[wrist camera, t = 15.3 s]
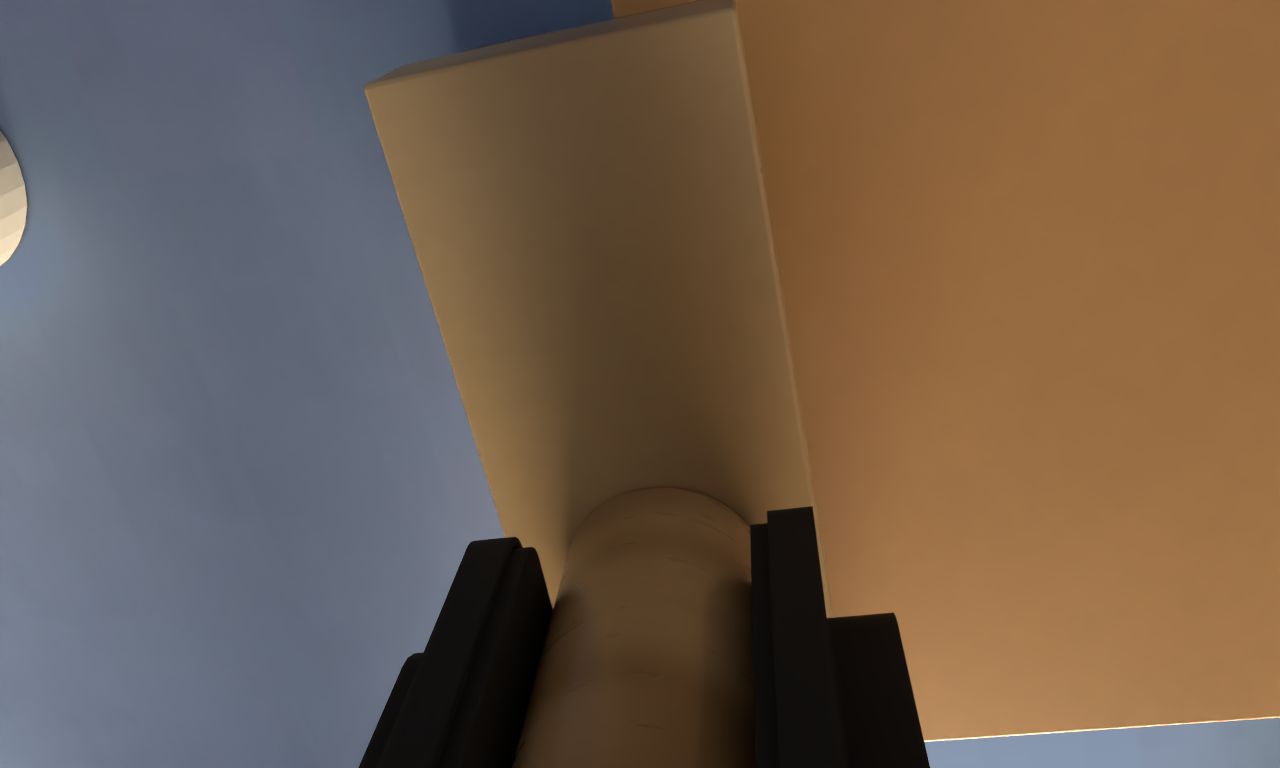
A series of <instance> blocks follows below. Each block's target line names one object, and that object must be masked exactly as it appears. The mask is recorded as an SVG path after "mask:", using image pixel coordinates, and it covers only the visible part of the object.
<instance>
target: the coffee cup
mask: <svg viewBox="0 0 1280 768" xmlns="http://www.w3.org/2000/svg"><path fill="white" fill-rule="evenodd" d="M26 212H27V199H26V191H25V183H24V180H23V177H22V173H21V170H20V167H19V164H18V161H17V159H16V157H15V155H14V153H13V151H12V149H11V147H10V145H9V143H8V141H7V139H6V138H5V136H4V135H3V133H2V132H1V130H0V266H1V265H2V264H3V263H4V262H5V261H7V260H8V259H9V258H10V256H11V255H12V253H13V252H14V250H15V249H16V247H17V246H18V244H19V242H20V239H21V236H22V233H23V230H24V227H25V222H26Z"/></svg>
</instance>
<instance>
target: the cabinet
mask: <svg viewBox="0 0 1280 768" xmlns="http://www.w3.org/2000/svg"><path fill="white" fill-rule="evenodd" d="M693 1H697V0H611V4H612V9H613V14H614V18H619V17H623V16H628V15H633V14H637V13H642V12H646V11H651V10H656V9H660V8H665V7H670V6H674V5H679V4H684V3H688V2H693ZM737 6H738V13H739V19H740V25H741V32H742V38H743V44H744V51H745V57H746V63H747V70H748V76H749V82H750V89H751V95H752V101H753V108H754V114H755V120H756V127H757V133H758V139H759V146H760V152H761V158H762V165H763V171H764V177H765V184H766V190H767V196H768V203H769V209H770V215H771V222H772V228H773V234H774V240H775V247H776V253H777V259H778V266H779V272H780V278H781V285H782V291H783V297H784V304H785V310H786V316H787V323H788V329H789V335H790V342H791V348H792V354H793V361H794V367H795V373H796V380H797V386H798V392H799V399H800V405H801V411H802V418H803V424H804V430H805V437H806V443H807V449H808V456H809V462H810V468H811V475H812V481H813V487H814V494H815V500H816V506H817V513H818V519H819V525H820V532H821V538H822V544H823V550H824V557H825V563H826V569H827V576H828V582H829V588H830V595H831V601H832V607H833V614H834V618H835V617H847V616H859V615H871V614H882V613H895V616H896V619H897V623H898V627H899V631H900V636H901V640H902V645H903V649H904V654H905V658H906V663H907V667H908V672H909V676H910V681H911V685H912V690H913V694H914V699H915V703H916V708H917V712H918V717H919V721H920V726H921V730H922V735H923V739H924V742H928V741H943V740H957V739H972V738H987V737H1001V736H1016V735H1030V734H1045V733H1060V732H1074V731H1089V730H1104V729H1118V728H1133V727H1147V726H1162V725H1177V724H1191V723H1206V722H1221V721H1235V720H1250V719H1264V718H1279V717H1280V0H737Z"/></svg>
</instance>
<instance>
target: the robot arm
mask: <svg viewBox="0 0 1280 768" xmlns="http://www.w3.org/2000/svg"><path fill="white" fill-rule="evenodd" d="M750 543H751V589H752V635H753V681H754V727H755V761H756V768H930V766H929V762H928V757H927V753H926V748H925V744H924V739H923V735H922V730H921V726H920V721H919V717H918V712H917V708H916V703H915V699H914V694H913V690H912V685H911V681H910V676H909V672H908V667H907V663H906V658H905V654H904V649H903V645H902V640H901V636H900V631H899V627H898V623H897V619H896V616H895V613H882V614H871V615H859V616H847V617H835V618H827V616H826V608H825V600H824V592H823V584H822V576H821V568H820V560H819V552H818V544H817V536H816V528H815V520H814V512H813V506H809V507H800V508H790V509H780V510H770V511H767V523H763V524H753V525H750ZM552 611H553V608H552V605H551V601H550V597H549V593H548V590H547V586H546V582H545V578H544V575H543V571H542V567H541V563H540V560H539V556H538V553H537V551H536V549H535V548H534V547H526V548H523V547H522V544H521V542H520V541H519V539H518V538H516V537H508V538H498V539H488V540H479V541H473V542H470V544H469V545H468V547H467V549H466V552H465V554H464V556H463V559H462V561H461V564H460V566H459V569H458V571H457V573H456V576H455V578H454V581H453V583H452V585H451V588H450V590H449V593H448V595H447V597H446V600H445V602H444V605H443V607H442V610H441V612H440V614H439V617H438V619H437V622H436V624H435V626H434V629H433V631H432V634H431V636H430V639H429V641H428V643H427V646H426V648H425V651H424V653H415V654H413V655H411V656H410V657H408V658H407V660H406V662H405V663H404V665H403V667H402V669H401V671H400V673H399V676H398V678H397V680H396V683H395V685H394V687H393V690H392V692H391V694H390V697H389V699H388V701H387V703H386V706H385V708H384V710H383V713H382V715H381V717H380V720H379V722H378V724H377V726H376V729H375V731H374V733H373V736H372V738H371V740H370V743H369V745H368V747H367V749H366V752H365V754H364V756H363V759H362V761H361V763H360V766H359V768H512V765H513V762H514V758H515V754H516V750H517V746H518V742H519V738H520V735H521V731H522V727H523V723H524V719H525V715H526V712H527V708H528V704H529V700H530V696H531V692H532V688H533V685H534V681H535V677H536V673H537V669H538V665H539V661H540V658H541V654H542V650H543V646H544V642H545V638H546V635H547V631H548V627H549V623H550V619H551V615H552Z"/></svg>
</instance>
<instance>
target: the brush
mask: <svg viewBox="0 0 1280 768" xmlns="http://www.w3.org/2000/svg"><path fill="white" fill-rule="evenodd" d="M364 91H365V94H366V97H367V101H368V104H369V107H370V110H371V113H372V116H373V120H374V123H375V126H376V129H377V132H378V135H379V139H380V142H381V145H382V148H383V151H384V154H385V158H386V161H387V164H388V167H389V170H390V173H391V177H392V180H393V183H394V186H395V189H396V192H397V196H398V199H399V202H400V205H401V208H402V212H403V215H404V218H405V221H406V224H407V227H408V231H409V234H410V237H411V240H412V243H413V246H414V250H415V253H416V256H417V259H418V262H419V265H420V269H421V272H422V275H423V278H424V281H425V284H426V288H427V291H428V294H429V297H430V300H431V304H432V307H433V310H434V313H435V316H436V319H437V323H438V326H439V329H440V332H441V335H442V338H443V342H444V345H445V348H446V351H447V354H448V357H449V361H450V364H451V367H452V370H453V373H454V376H455V380H456V383H457V386H458V389H459V392H460V395H461V399H462V402H463V405H464V408H465V411H466V415H467V418H468V421H469V424H470V427H471V430H472V434H473V437H474V440H475V443H476V446H477V449H478V453H479V456H480V459H481V462H482V465H483V468H484V472H485V475H486V478H487V481H488V484H489V487H490V491H491V494H492V497H493V500H494V503H495V507H496V510H497V513H498V516H499V519H500V522H501V526H502V529H503V532H504V535H505V538H508V537H516V538H518V539H519V541H520V542H521V544H522V547H523V548H526V547H534V548H535V549H536V551H537V553H538V556H539V560H540V563H541V567H542V571H543V575H544V578H545V582H546V586H547V590H548V593H549V597H550V601H551V605H552V608H553V611H552V615H551V619H550V623H549V627H548V631H547V635H546V638H545V642H544V646H543V650H542V654H541V658H540V661H539V665H538V669H537V673H536V677H535V681H534V685H533V688H532V692H531V696H530V700H529V704H528V708H527V712H526V715H525V719H524V723H523V727H522V731H521V735H520V738H519V742H518V746H517V750H516V754H515V758H514V762H513V765H512V768H756V761H755V727H754V681H753V635H752V589H751V543H750V525H753V524H763V523H767V511H770V510H780V509H790V508H800V507H809V506H813V512H814V520H815V528H816V536H817V544H818V552H819V560H820V568H821V576H822V584H823V592H824V600H825V608H826V616H827V618H834V614H833V607H832V601H831V595H830V588H829V582H828V576H827V569H826V563H825V557H824V550H823V544H822V538H821V532H820V525H819V519H818V513H817V506H816V500H815V494H814V487H813V481H812V475H811V468H810V462H809V456H808V449H807V443H806V437H805V430H804V424H803V418H802V411H801V405H800V399H799V392H798V386H797V380H796V373H795V367H794V361H793V354H792V348H791V342H790V335H789V329H788V323H787V316H786V310H785V304H784V297H783V291H782V285H781V278H780V272H779V266H778V259H777V253H776V247H775V240H774V234H773V228H772V222H771V215H770V209H769V203H768V196H767V190H766V184H765V177H764V171H763V165H762V158H761V152H760V146H759V139H758V133H757V127H756V120H755V114H754V108H753V101H752V95H751V89H750V82H749V76H748V70H747V63H746V57H745V51H744V44H743V38H742V32H741V25H740V19H739V13H738V6H737V0H697V1H693V2H688V3H684V4H679V5H674V6H670V7H665V8H660V9H656V10H651V11H646V12H642V13H637V14H633V15H628V16H623V17H619V18H614V19H609V20H605V21H600V22H595V23H591V24H586V25H581V26H577V27H572V28H568V29H563V30H558V31H554V32H549V33H544V34H540V35H535V36H530V37H526V38H521V39H517V40H512V41H507V42H503V43H498V44H493V45H489V46H484V47H479V48H475V49H470V50H466V51H463V52H461V53H456V54H452V55H447V56H442V57H438V58H433V59H428V60H424V61H419V62H414V63H410V64H406V65H404V66H402V67H400V68H398V69H396V70H394V71H392V72H389V73H387V74H385V75H383V76H381V77H379V78H377V79H375V80H373V81H371V82H369V83H367V84H366V85H365V86H364Z"/></svg>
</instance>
